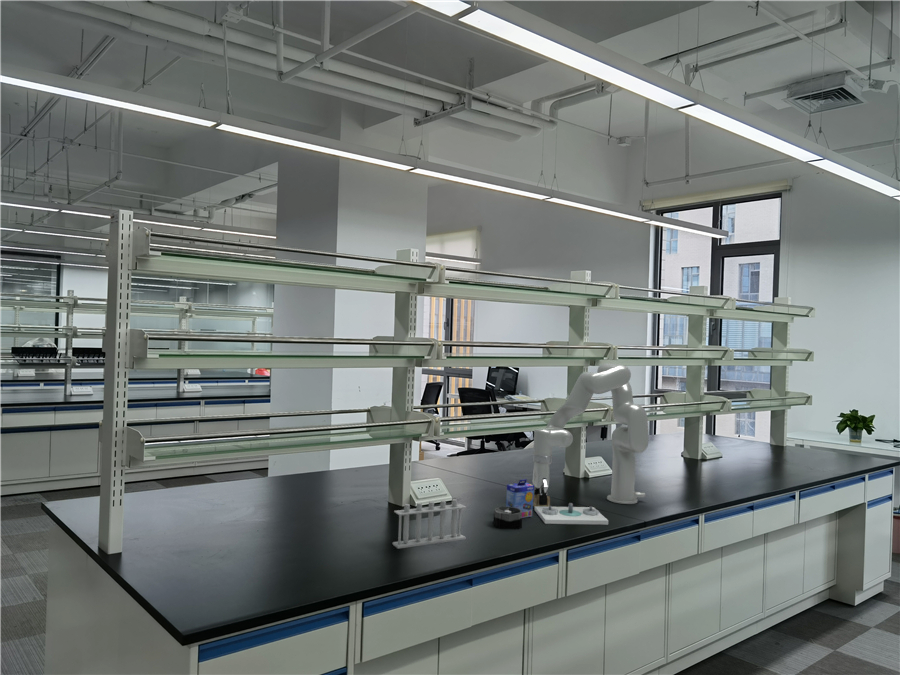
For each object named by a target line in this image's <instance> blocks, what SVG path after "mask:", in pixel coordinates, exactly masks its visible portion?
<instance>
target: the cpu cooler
mask: <svg viewBox="0 0 900 675" xmlns="http://www.w3.org/2000/svg"><path fill="white" fill-rule="evenodd" d="M493 524H494V525H495V527H496V529H498V528H499V529H503V530H504V529H514V530H516V529H522V528H523V518H522V510H520V509H519V508H514V507H506V506H499V507H495V508H494V512H493Z"/></svg>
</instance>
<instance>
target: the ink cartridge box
mask: <svg viewBox="0 0 900 675" xmlns="http://www.w3.org/2000/svg"><path fill="white" fill-rule="evenodd" d="M527 481H528V479H527V478H525V479H519V481H518V482H517V483H511V484H510V483H509V484H506V499H505V500H506V501H505V507H514V508H519V509H520V510H522V518H521V519H525V518H530V517H531V518H532V517H533V510H534V509H533V508H534V506H533V496H534V493H535V486H534V484H533V483H528V482H527Z"/></svg>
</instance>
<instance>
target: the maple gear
mask: <svg viewBox="0 0 900 675" xmlns="http://www.w3.org/2000/svg"><path fill="white" fill-rule="evenodd" d="M539 495H540V494H538V495H534V496H533V508H535V506H545V507H549V506H551V497H550V496H548V495H547V505H539Z"/></svg>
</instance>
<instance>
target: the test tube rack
mask: <svg viewBox="0 0 900 675" xmlns="http://www.w3.org/2000/svg"><path fill="white" fill-rule="evenodd" d="M403 507H404V508H403V509H400V510H399V509H398V510H394V511H393V513H395V514H396V515H398V533H397V534H398V537H397V539H398V540H397V541H393V542H392V545H393V547H394V548H396V549H398V550H400V549H405V548H412V547H421V546H426V545H434V544H441V543H449V542H455V541H456V542H457V541H463V540H466V539H467V538H466V536H465V535H463V534H461V524H462V510H463V509H467V508H468V507H467V506H465V505H464V504H463V503H462V504H461V503H458V499H457V498H456V499H454V498H453V499H452V500H451V504H447V502H446V500H443V499H441V500H440V504H439V505H438V506H435V502H434V501H429V502H428V506H427V507H423V503H421V502H417V503H416V508H411V506H410V503H405V504H404V506H403ZM446 511H451V519H450V520H451V521H450V522H451V523H450V534H445V531H446V530H445V528H446ZM435 512H439V530H438V531H439V532H438V533H439V535H437V536H433V535H434V533H433V532H434V515H435V514H434V513H435ZM425 513H426V514H427V513H428V514H427V515H428V517H427V536H426V537H422V516H423V515H422V514H425ZM410 515H416V516H415V533H414V534H415V537H414V538H415V539H414V538H413V539H409V535H410V534H409V532H410V530H409V528H410ZM457 517H458V519H457ZM402 518H403V527H402ZM457 520H458V524H457ZM457 525H458V526H457ZM402 528H403V531H402ZM402 533H403V534H402ZM421 537H422V538H421Z"/></svg>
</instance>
